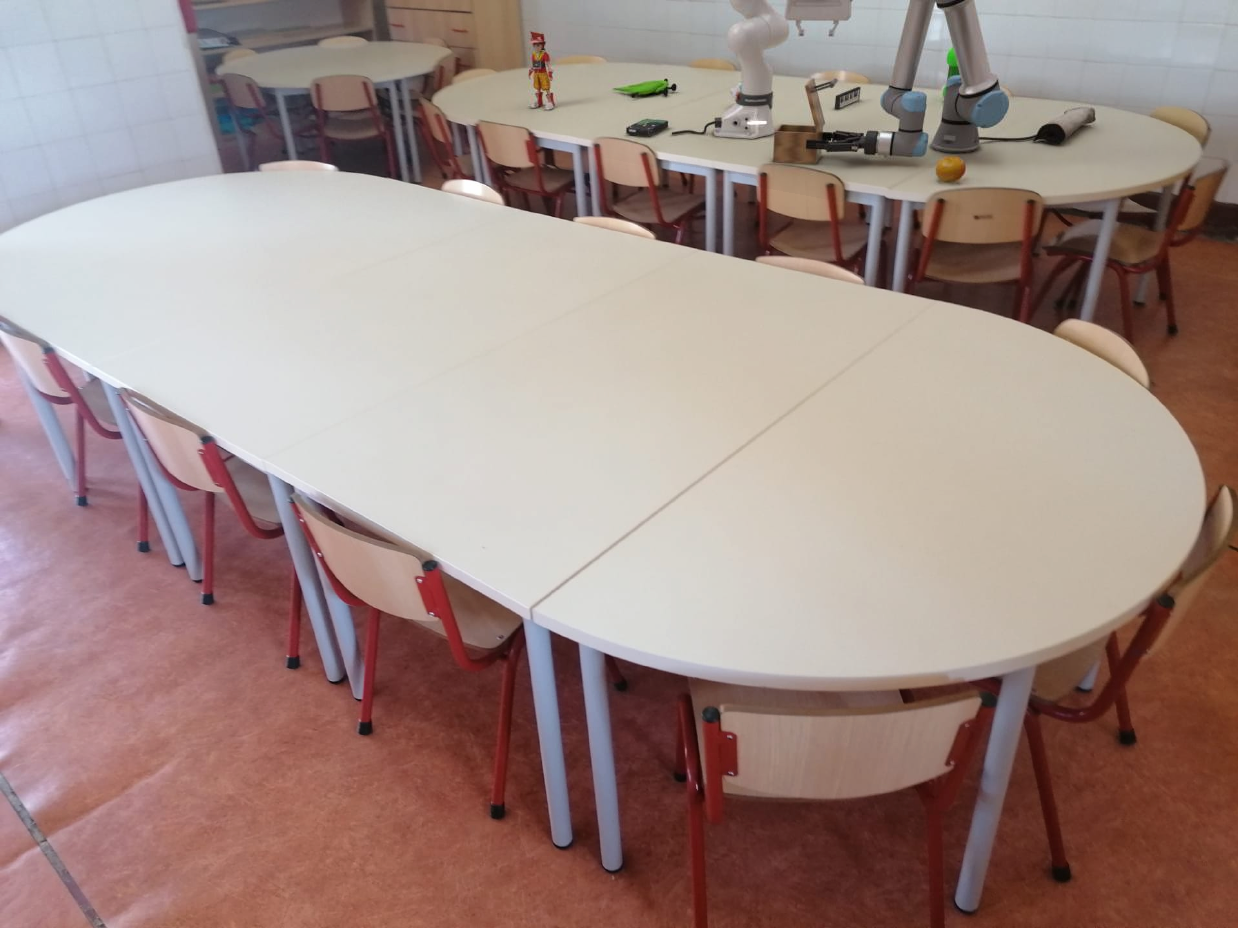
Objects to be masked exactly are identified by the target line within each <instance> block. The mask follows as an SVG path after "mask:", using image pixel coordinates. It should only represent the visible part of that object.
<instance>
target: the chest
mask: <svg viewBox="0 0 1238 928" xmlns="http://www.w3.org/2000/svg"><path fill="white" fill-rule="evenodd" d="M823 132H824V126H823V127H822V129H821V130H820V131H818V132H816V129H815V125H809V124H787V123H786V124H783V123H781V124H779V126H778V127H777V128H776V129H775V132H774V133H773V151H772V152H773V153H772V162H773V163H785V164H802V165H803V164H805V165H817V163H818V161H819V159H820V158H821V156H822V150H820V149H806V140H822V136H823Z"/></svg>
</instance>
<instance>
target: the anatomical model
mask: <svg viewBox="0 0 1238 928" xmlns="http://www.w3.org/2000/svg"><path fill="white" fill-rule="evenodd" d="M737 91H742V81H741V82H738V83H737V84H736V86H735V87H731V88H730V89H729V93H730V95H731V96H732V98H733V99H734V102H736V93H737Z"/></svg>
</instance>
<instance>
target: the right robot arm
mask: <svg viewBox="0 0 1238 928" xmlns="http://www.w3.org/2000/svg"><path fill="white" fill-rule="evenodd" d="M935 4H936V8H937V9H939V10H941V11H943V14H944V17H945V21H946V25H947V28H948V33H949V36H950V41H951V44H952V47H953V49H954V53H955V57H956V61H957V65H958V69H959V73H960V75H956V76H951V77H950V78H949V79H948V80H947V79H946V84H945V85H946V87H945V86H944V87H945V97H943V105H942V111H941V119H940V124H939V126H938V127H937V130H936V133H935V134H934V136H933V139H932V141H931V147H932V149H934V150H935V151H939V152H942V153H948V154H950V153H951V154H964V153H965V154H966V153H972V152H976V151H977V150H978V149H979V148H980V141H999V142H1000V141H1003V142H1017V141H1018V142H1020V141H1028V140H1033V139H1034V138H1035V136H1036V134H1034V135H1030V136H1024V137H993V136H992V137H990V136H980V135H979V128H982V129H989V128H990V129H991V128H993V127H995V126H997V125H998V124H999V123H1000V122H1002V120H1003V119H1004V118H1005V116H1006V115H1007V113H1008V111H1009V107H1010V99H1009V97H1008V94H1007V93H1006V92H1005V91H1004V90H1001V85H1000V82H999V77H998V75H997V74H996V73H993V72H991V67H990V63H989V59H988V53H987V51H986V46H985V42H984V37H983V33H982V28H981V24H980V21H979V16H978V12H977V8H976V3H975V0H909V3H908V8H907V12H906V15H905V19H904V23H903V28H902V32H901V35H900V39H899V43H898V48H897V52H896V56H895V60H894V63H893V67H892V72H891V76H890V81H889V84H888V88H887V89H886V90H884V92H882V94H881V96H880V101H879V103H880V107H881V108H882V110H883V111H884V112H885V113H887V114H888V115H891V116H893V117H894V118H896V119H898V129H897V131H893V130H881V131H879V130H867V131H866V133H864V132H854V131H844V130H838V129H837V130H835V131H833V132H832V131H823V136H822V140H806V149H820V150H821V151H826V153H847V152H849V153H858V151H859V150H861V149H862V150H863V154H864V155H865V156H875V155H877V156H883V157H884V158H887V157H889V156H890V157H901V158H902V157H905V158H923V157H925V155H926V153H927V149H928V145H929V144H928V143H929V133H928V132H924V123H925V116H926V110H927V99H928V97H927V94H926V93H925V92H923V91H916V90H913V87H914V84H915V80H916V76H917V73H918V68H919V65H920V61H921V57H922V53H923V49H924V46H925V42H926V38H927V34H928V31H929V26H930V22H931V19H932V16H933V13H934V12H933V11H934V8H935Z"/></svg>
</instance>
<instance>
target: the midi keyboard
mask: <svg viewBox="0 0 1238 928" xmlns="http://www.w3.org/2000/svg"><path fill="white" fill-rule="evenodd" d="M860 97H861V86H856V87H853V88H852V89H849V90H846V91H844V92H842V93H839V94H837V95H835V100H834V110H839V109H841V108H843V107H846V106H848V105H850V104H852V103H855V102H857V101H860Z"/></svg>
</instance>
